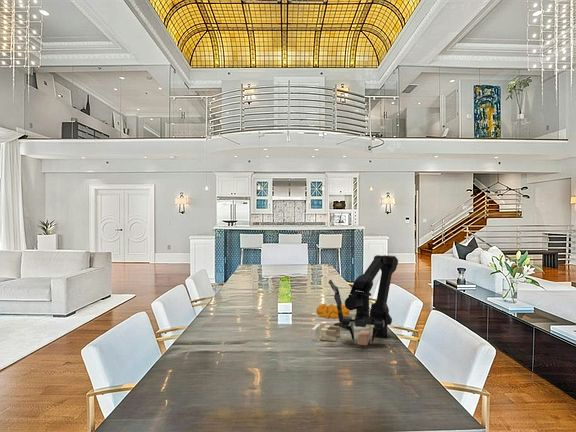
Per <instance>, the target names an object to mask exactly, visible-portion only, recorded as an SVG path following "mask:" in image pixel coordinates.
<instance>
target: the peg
mask: <svg viewBox="0 0 576 432" xmlns="http://www.w3.org/2000/svg"><path fill="white" fill-rule="evenodd" d="M370 332H371V331H370V330H363V329H362V330H360V332H359V334H358V335H357V346H368V344H369V342H370V338H371V337H370V336H371V333H370Z"/></svg>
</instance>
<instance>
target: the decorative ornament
mask: <svg viewBox="0 0 576 432" xmlns="http://www.w3.org/2000/svg"><path fill="white" fill-rule="evenodd" d="M341 308H342V313H343V316H348V317H349V316H350V310H348V309H347V308H346V307H345V304H342V305H341ZM316 315H317V316H318V317H319V318H326V319H332V320H335V319H339V318H338V309H337V305H334V304H329V305H327V303H322V304H319V305H318V306H317V308H316Z"/></svg>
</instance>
